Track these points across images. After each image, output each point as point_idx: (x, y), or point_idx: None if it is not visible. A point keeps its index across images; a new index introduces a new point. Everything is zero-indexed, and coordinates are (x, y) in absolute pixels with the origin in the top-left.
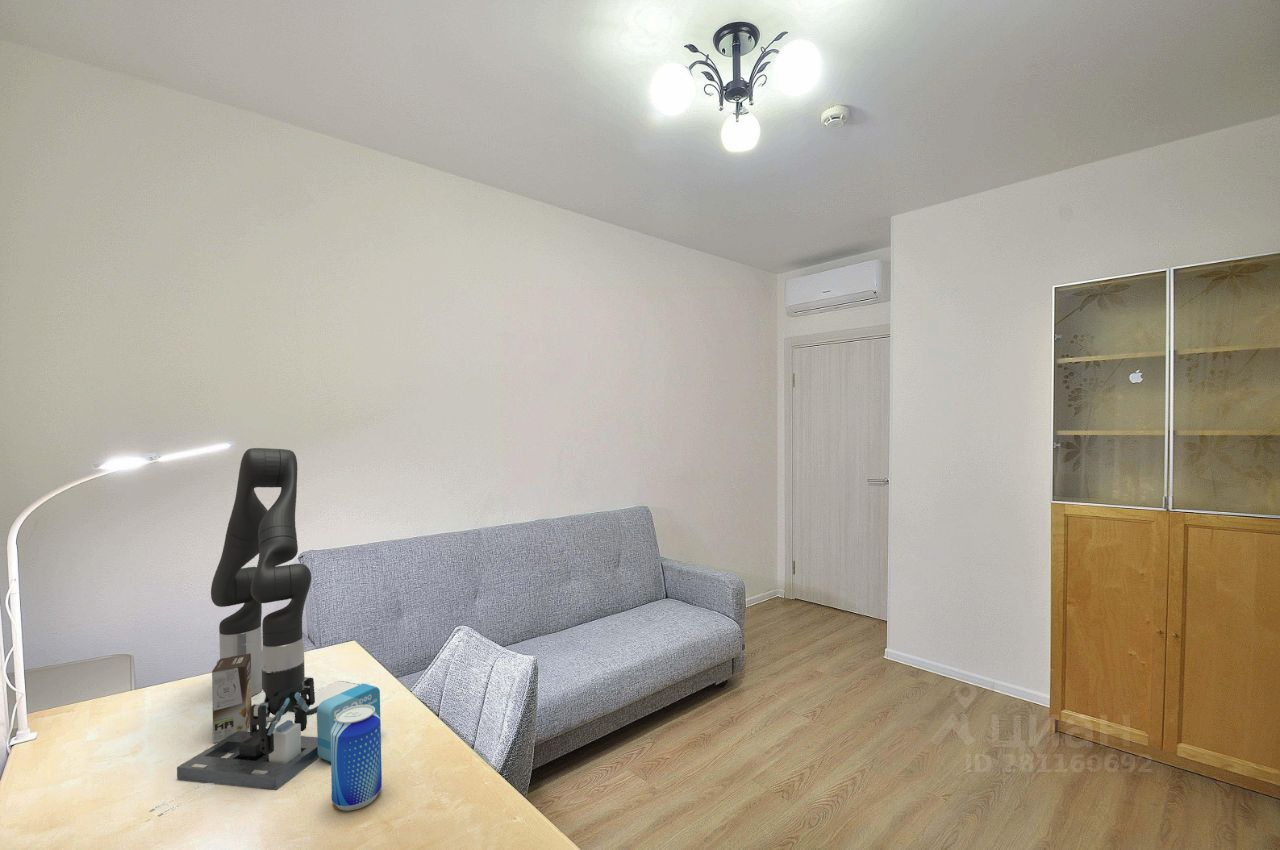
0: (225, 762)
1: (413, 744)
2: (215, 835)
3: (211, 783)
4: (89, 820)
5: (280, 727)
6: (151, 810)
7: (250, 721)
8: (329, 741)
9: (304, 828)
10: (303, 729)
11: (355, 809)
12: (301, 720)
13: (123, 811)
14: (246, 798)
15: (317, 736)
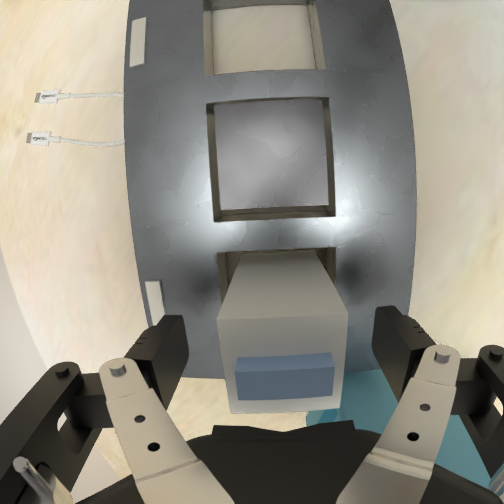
0: (177, 102)
1: None
2: (37, 334)
3: None
4: (19, 24)
5: (242, 391)
6: (37, 96)
7: (9, 417)
8: None
9: (120, 456)
10: (373, 351)
11: None
12: (388, 368)
13: (36, 43)
14: (120, 301)
15: (338, 414)
